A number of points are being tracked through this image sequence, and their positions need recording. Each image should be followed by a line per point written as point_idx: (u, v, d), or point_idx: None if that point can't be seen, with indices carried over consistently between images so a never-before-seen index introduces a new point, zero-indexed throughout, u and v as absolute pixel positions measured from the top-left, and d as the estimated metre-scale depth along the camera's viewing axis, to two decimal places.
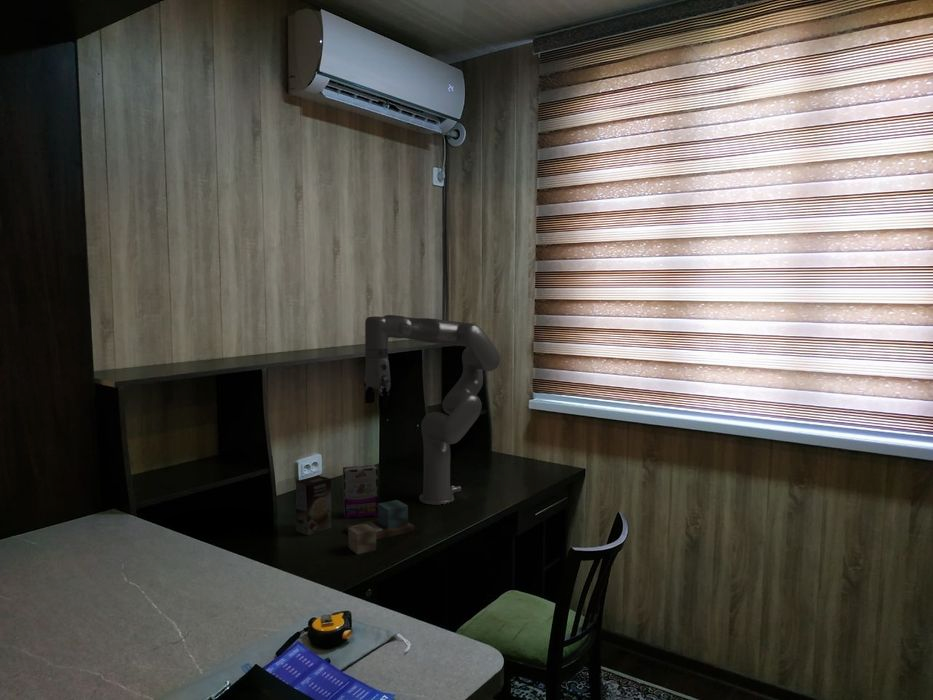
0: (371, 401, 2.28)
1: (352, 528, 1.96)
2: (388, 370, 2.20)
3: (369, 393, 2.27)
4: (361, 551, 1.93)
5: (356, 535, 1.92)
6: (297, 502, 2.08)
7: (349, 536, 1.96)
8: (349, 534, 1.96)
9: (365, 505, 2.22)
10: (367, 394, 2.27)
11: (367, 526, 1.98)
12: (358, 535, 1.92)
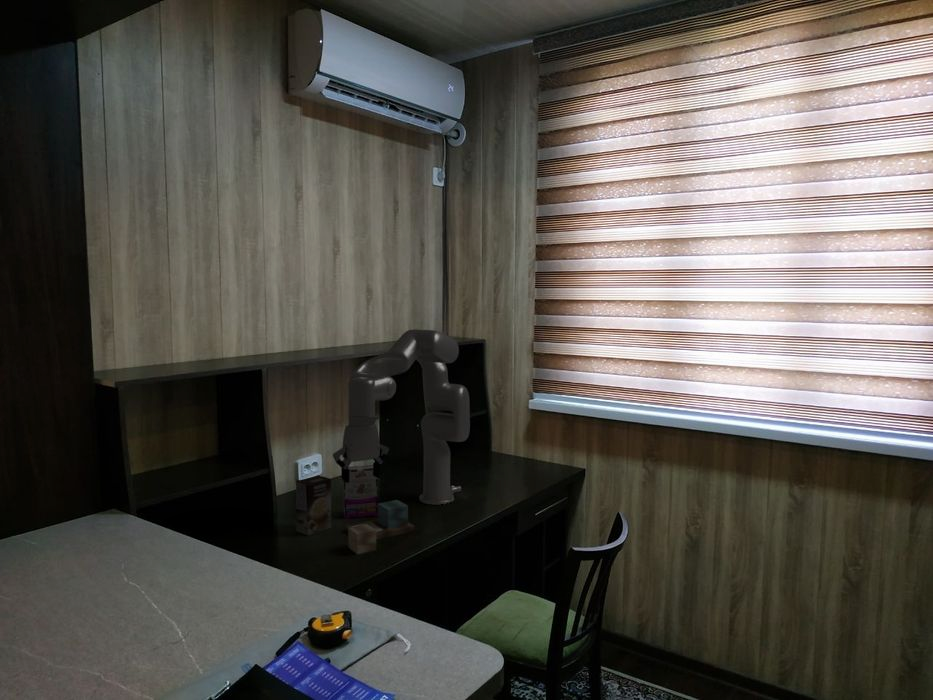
0: None
1: (352, 528, 1.96)
2: None
3: None
4: (361, 551, 1.93)
5: (356, 535, 1.92)
6: (297, 502, 2.08)
7: (349, 536, 1.96)
8: (349, 534, 1.96)
9: (365, 505, 2.22)
10: None
11: (367, 526, 1.98)
12: (358, 535, 1.92)
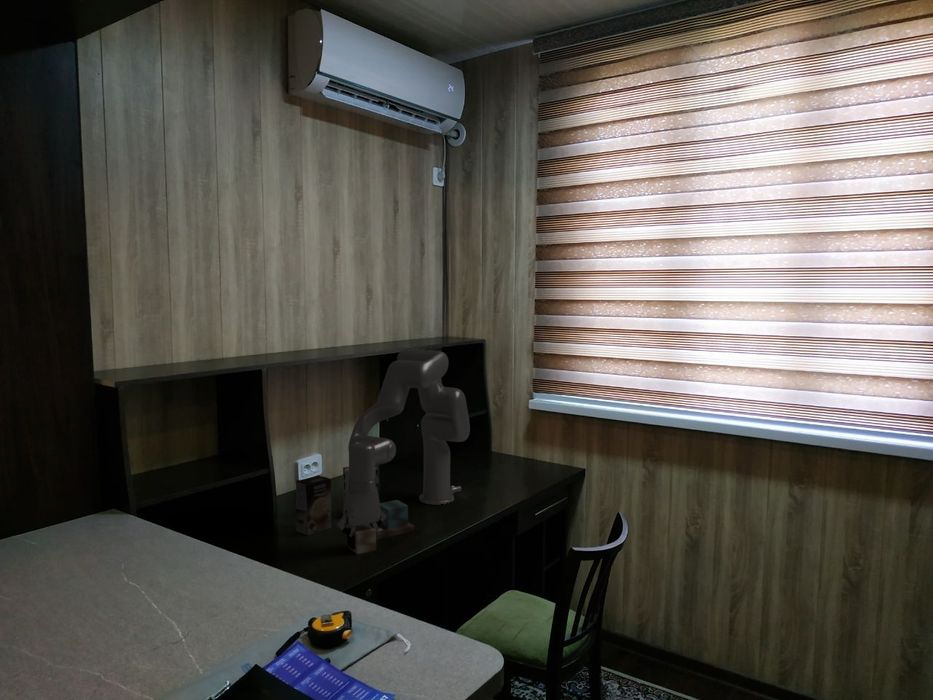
0: None
1: None
2: None
3: None
4: (361, 551, 1.93)
5: (356, 535, 1.92)
6: (297, 502, 2.08)
7: None
8: None
9: None
10: None
11: (367, 526, 1.98)
12: (358, 535, 1.92)
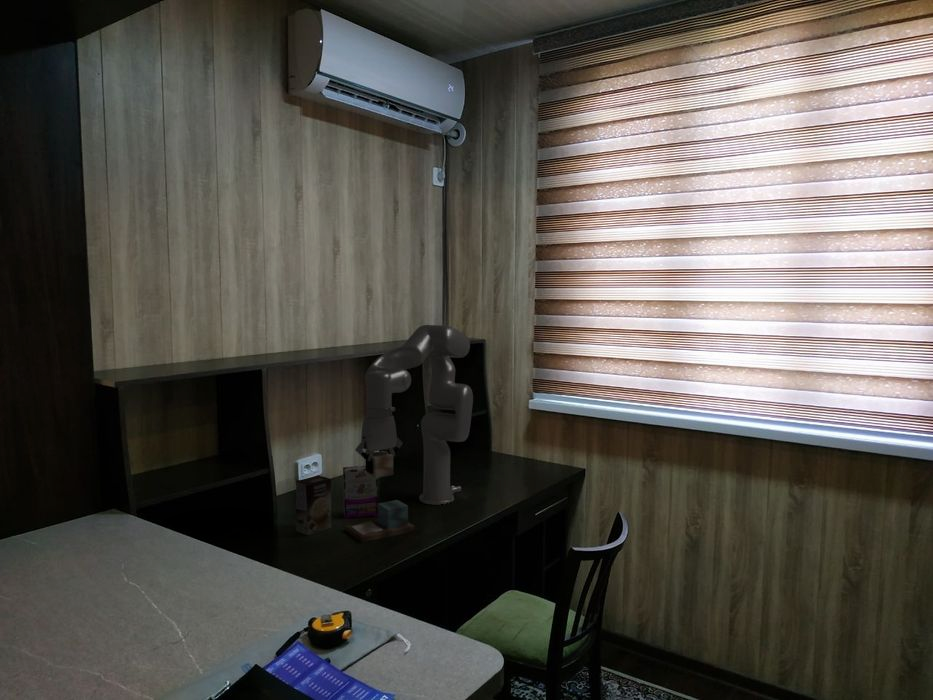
0: None
1: None
2: None
3: None
4: (379, 475, 2.00)
5: (374, 459, 2.00)
6: (297, 502, 2.08)
7: None
8: None
9: (365, 505, 2.22)
10: None
11: (384, 452, 2.05)
12: (376, 459, 1.99)
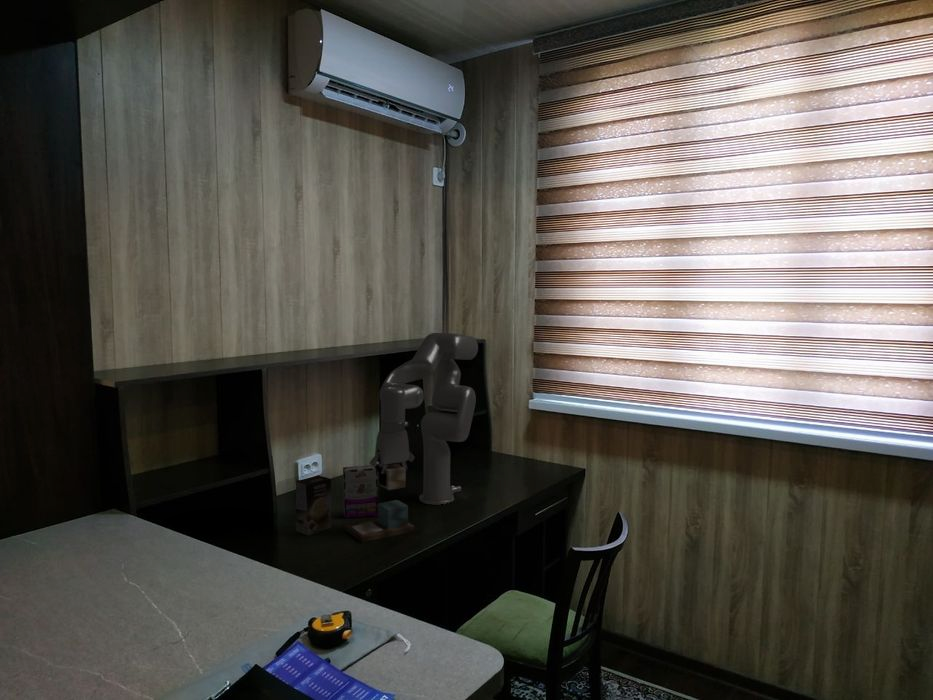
0: None
1: None
2: None
3: None
4: (392, 487, 2.08)
5: (387, 472, 2.08)
6: (297, 502, 2.08)
7: None
8: None
9: (365, 505, 2.22)
10: None
11: (397, 465, 2.13)
12: (389, 472, 2.07)
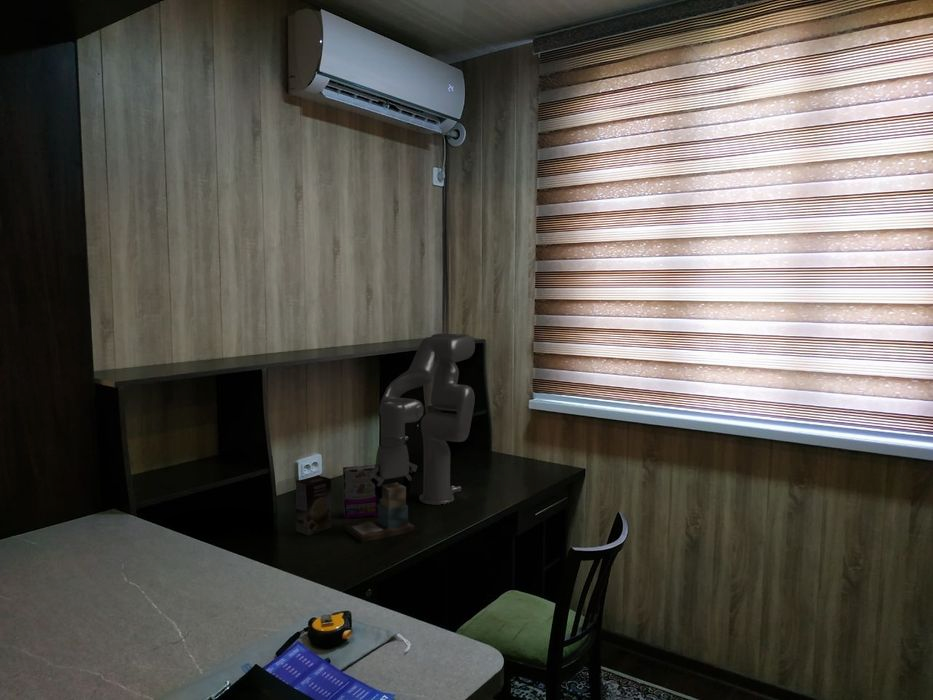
0: None
1: (383, 485, 2.13)
2: None
3: None
4: (392, 506, 2.09)
5: (388, 491, 2.09)
6: (297, 502, 2.08)
7: None
8: None
9: (365, 505, 2.22)
10: None
11: (397, 484, 2.14)
12: (390, 491, 2.08)
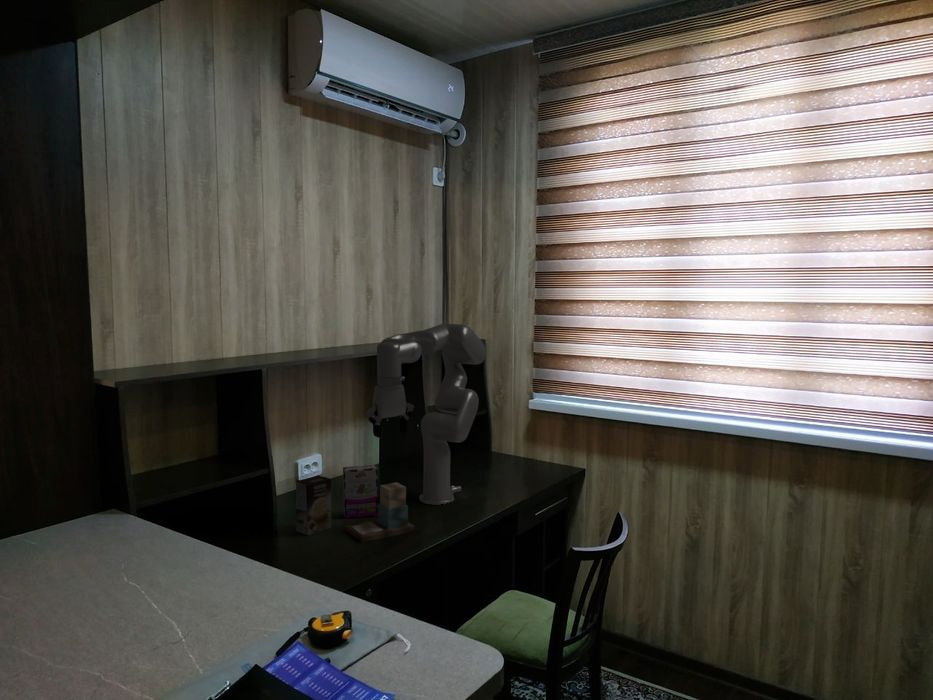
0: None
1: (383, 485, 2.13)
2: None
3: None
4: (392, 506, 2.09)
5: (388, 491, 2.09)
6: (297, 502, 2.08)
7: (381, 493, 2.13)
8: (380, 491, 2.13)
9: (365, 505, 2.22)
10: None
11: (397, 484, 2.14)
12: (390, 491, 2.08)
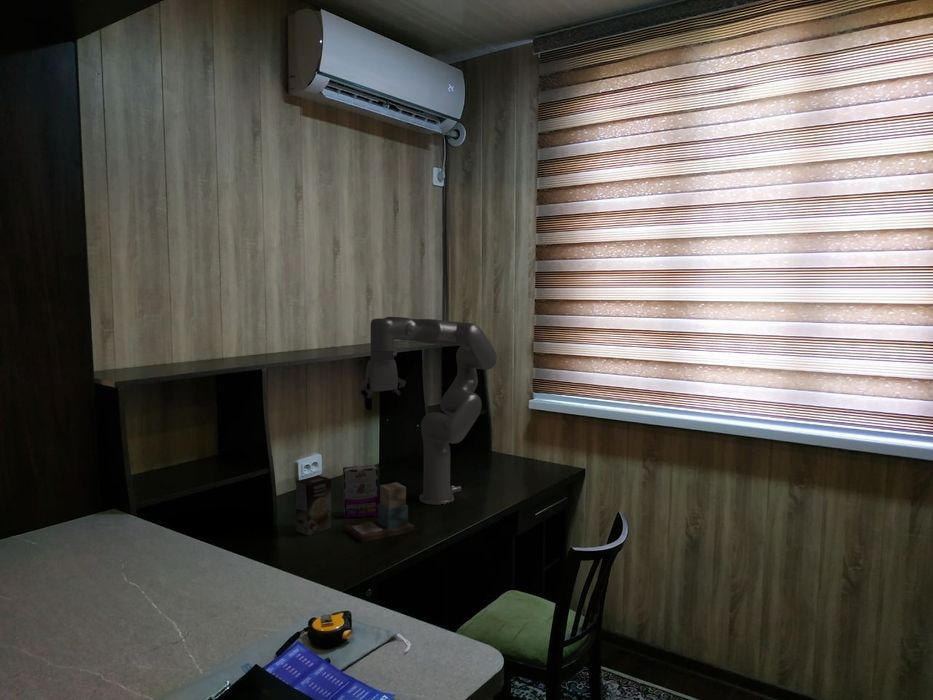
0: None
1: (383, 485, 2.13)
2: None
3: None
4: (392, 506, 2.09)
5: (388, 491, 2.09)
6: (297, 502, 2.08)
7: (381, 493, 2.13)
8: (380, 491, 2.13)
9: (365, 505, 2.22)
10: None
11: (397, 484, 2.14)
12: (390, 491, 2.08)
